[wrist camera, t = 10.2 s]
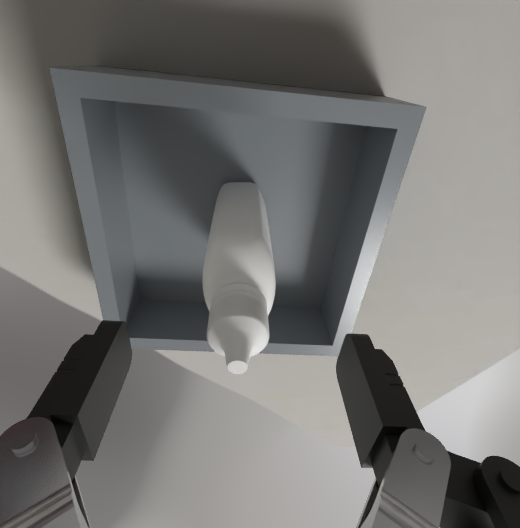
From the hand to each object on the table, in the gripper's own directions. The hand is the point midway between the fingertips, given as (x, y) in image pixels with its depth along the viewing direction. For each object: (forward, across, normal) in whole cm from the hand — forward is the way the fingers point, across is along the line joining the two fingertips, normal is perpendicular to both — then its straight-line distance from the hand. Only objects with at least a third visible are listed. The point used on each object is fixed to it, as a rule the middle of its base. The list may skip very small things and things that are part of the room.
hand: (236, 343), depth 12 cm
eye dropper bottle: (+11, 0, 0) cm, 11 cm away
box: (+12, 0, 0) cm, 12 cm away
